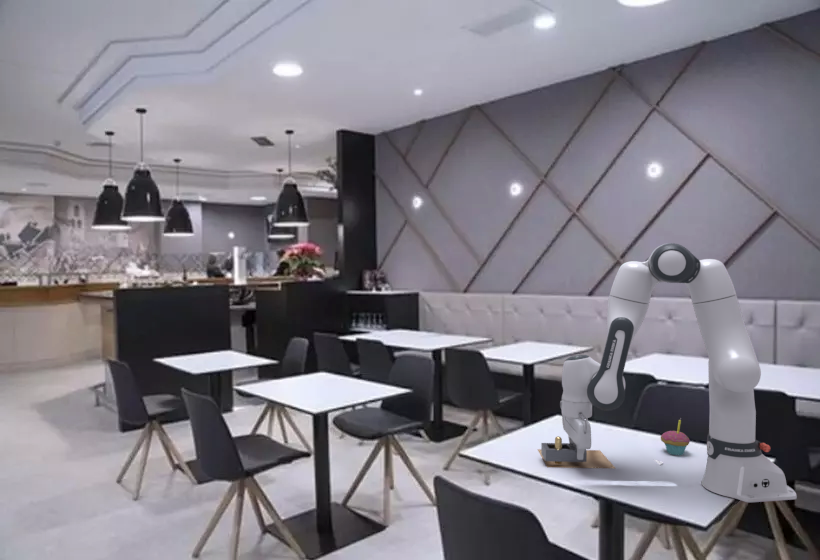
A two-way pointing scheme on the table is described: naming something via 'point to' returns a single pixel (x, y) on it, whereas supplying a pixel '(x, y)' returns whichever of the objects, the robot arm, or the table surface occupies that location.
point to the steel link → (561, 452)
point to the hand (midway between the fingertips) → (576, 454)
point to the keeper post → (558, 446)
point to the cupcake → (675, 441)
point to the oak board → (593, 461)
